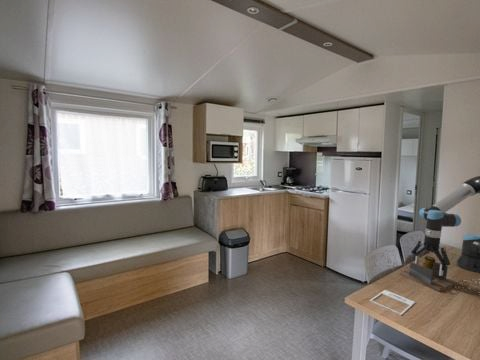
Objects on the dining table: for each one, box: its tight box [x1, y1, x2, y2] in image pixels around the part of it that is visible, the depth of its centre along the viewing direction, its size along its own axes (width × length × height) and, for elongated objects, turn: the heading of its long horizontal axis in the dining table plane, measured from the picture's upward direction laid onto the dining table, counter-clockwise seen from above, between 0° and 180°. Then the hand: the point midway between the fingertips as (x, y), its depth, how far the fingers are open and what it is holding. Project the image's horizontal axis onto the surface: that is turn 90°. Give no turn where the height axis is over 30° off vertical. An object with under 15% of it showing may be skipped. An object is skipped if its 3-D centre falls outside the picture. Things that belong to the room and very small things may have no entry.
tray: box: [399, 261, 457, 293], centre depth 161 cm, size 18×22×10 cm
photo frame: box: [369, 289, 416, 316], centre depth 135 cm, size 15×1×18 cm
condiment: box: [422, 256, 439, 281], centre depth 160 cm, size 7×8×12 cm
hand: (428, 270), depth 161 cm, fingers open, 13 cm apart
